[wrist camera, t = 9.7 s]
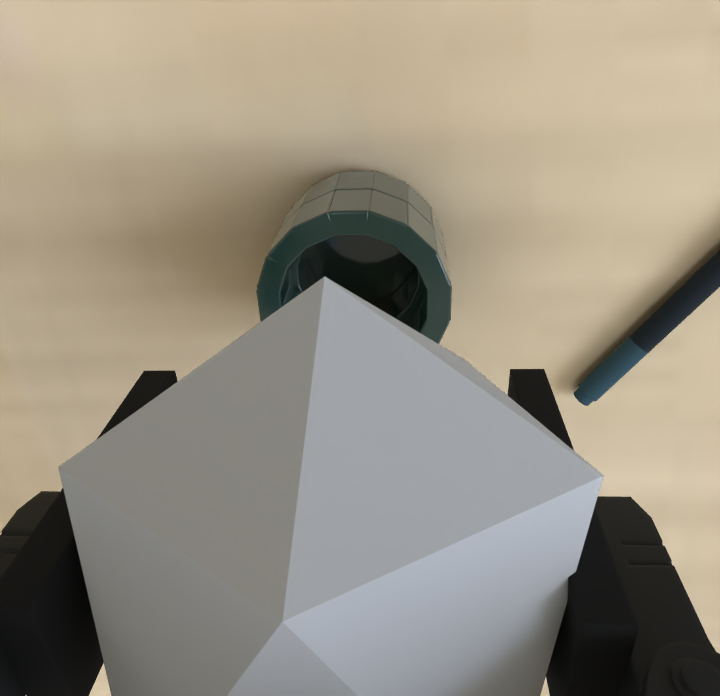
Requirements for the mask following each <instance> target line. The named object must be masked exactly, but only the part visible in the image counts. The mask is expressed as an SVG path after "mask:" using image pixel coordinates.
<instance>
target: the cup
mask: <svg viewBox="0 0 720 696" xmlns="http://www.w3.org/2000/svg"><path fill="white" fill-rule="evenodd" d="M323 277H326V278H328V279H330V280H331V281H333V282H335V283H337V284H338V285H340V286H342V287H343V288H345V289H347V290H348V291H350V292H352V293H353V294H355V295H357V296H358V297H360V298H362V299H363V300H365V301H367V302H369V303H370V304H372V305H374V306H375V307H377V308H379V309H380V310H382V311H384V312H385V313H387V314H389V315H390V316H392V317H394V318H395V319H397V320H399V321H401V322H402V323H404V324H406V325H407V326H409V327H411V328H412V329H414V330H416V331H417V332H419V333H421V334H422V335H424V336H426V337H427V338H429V339H431V340H432V341H434V342H436V343H438V344H439V343H440V341H441V339H442V337H443V335H444V333H445V331H446V329H447V327H448V325H449V321H450V320H451V293H452V286H451V281H450V275H449V269H448V263H447V258H446V252H445V246H444V240H443V235H442V232H441V229H440V227H439V225H438V222H437V220H436V217H435V215H434V212H433V210H432V208H431V206H430V205H429V204H428V203H427V202H426V201H425V200H424V199H423V198H422V197H421V196H420V195H419V194H418V193H417V192H416V191H415V190H414V189H412V188H411V187H410V186H409V185H408V184H406V182H403V181H401V180H398V179H396V178H393V177H390V176H388V175H385V174H382V173H380V172H377V171H351V172H339V173H337V174H335V175H333V176H331V177H328V178H326V179H324V180H322V181H320V182H318V183H316V184H313V185H312V186H311V187H310V188H309V189H308V190H307V191H306V192H305V193H304V194H303V195H302V196H301V198H300V199H299V200H298V201H297V202H296V203H295V204H294V206H293V207H292V208H291V210H290V211H289V213H288V215H287V217H286V219H285V221H284V223H283V225H282V226H281V228H280V230H279V233H278V234H277V236H276V238H275V240H274V242H273V244H272V246H271V248H270V250H269V252H268V254H267V256H266V258H265V261H264V265H263V268H262V271H261V275H260V278H259V281H258V285H257V291H256V292H257V299H258V306H259V313H260V320H261V322H262V321H263V320H265V319H266V318H267V317H269V316H270V315H272V314H273V313H274V312H276V311H277V310H279V309H280V308H281V307H283V306H284V305H286V304H287V303H288V302H290V301H291V300H292V299H294V298H295V297H297V296H298V295H299V294H301V293H302V292H304V291H305V290H306V289H308V288H309V287H311V286H312V285H313V284H315V283H316V282H318V281H319V280H320V279H322V278H323Z"/></svg>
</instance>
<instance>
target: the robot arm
mask: <svg viewBox="0 0 720 696" xmlns="http://www.w3.org/2000/svg"><path fill="white" fill-rule="evenodd" d="M175 383H177V378H176V373H175V371H144V372H143V373H142V375H141V376H140V378H139V379H138V380H137V382H136V383H135V385H134V386H133V388H132V389H131V391H130V392H129V393H128V395H127V396H126V398H125V399H124V401H123V402H122V404H121V405H120V406H119V408H118V409H117V411H116V412H115V414H114V415H113V417H112V418H111V419H110V421H109V422H108V424H107V425H106V427H105V428H104V430H103V431H102V432H101V434H100V435H99V437H98V438H100V437H101V436H103V435H104V434H105V433H107V432H108V431H110V430H111V429H112V428H114V427H115V426H116V425H118V424H119V423H121V422H122V421H123V420H125V419H126V418H128V417H129V416H130V415H132V414H133V413H135V412H136V411H137V410H139V409H140V408H142V407H143V406H144V405H146V404H147V403H149V402H150V401H151V400H153V399H154V398H156V397H157V396H158V395H160V394H161V393H163V392H164V391H165V390H167V389H168V388H170V387H171V386H172V385H174V384H175ZM508 396H509V397H510V398H511V399H512V400H514V401H515V402H516V403H517V404H518V405H520V406H521V407H522V408H523V409H524V410H526V411H527V412H528V413H529V414H530V415H531V416H533V417H534V418H535V419H536V420H537V421H539V422H540V423H541V424H542V425H543V426H545V427H546V428H547V429H548V430H549V431H551V432H552V433H553V434H554V435H555V436H557V437H558V438H559V439H560V440H561V441H563V442H564V443H565V444H566V445H567V446H569V447H570V448H571V449H572V450H573V451H574V449H573V446H572V444H571V441H570V438H569V436H568V433H567V430H566V427H565V425H564V422H563V419H562V417H561V414H560V411H559V409H558V406H557V403H556V400H555V398H554V395H553V392H552V390H551V387H550V384H549V381H548V379H547V376H546V373H545V371H544V369H510V377H509V388H508ZM98 438H97V439H98ZM103 663H104V661H103V657H102V652H101V648H100V644H99V639H98V635H97V631H96V627H95V622H94V618H93V614H92V609H91V605H90V601H89V596H88V592H87V588H86V584H85V579H84V575H83V571H82V566H81V562H80V558H79V554H78V549H77V545H76V541H75V536H74V532H73V528H72V524H71V519H70V515H69V511H68V506H67V502H66V498H65V494H64V489H62V490H61V492H48V491H41V492H40V493H39V494H37V495H36V496H35V497H33V498H32V499H31V500H30V501H28V502H27V503H26V504H24V505H23V506H22V507H21V508H19V509H18V510H17V511H16V513H15V514H14V515H13V517H12V518H11V519H10V521H9V522H8V523H7V525H6V526H5V527H4V529H3V530H2V534H1V535H0V696H25V695H27V696H89V694H90V691H91V689H92V687H93V685H94V682H95V680H96V678H97V676H98V674H99V671H100V669H101V667H102V665H103ZM546 678H547V683H548V688H549V693H550V696H720V654H719V653H717V652H716V651H715V649H714V648H713V646H712V644H711V643H710V641H709V639H708V637H707V635H706V633H705V631H704V629H703V627H702V625H701V622H700V620H699V618H698V616H697V614H696V612H695V610H694V608H693V605H692V603H691V601H690V599H689V597H688V595H687V593H686V590H685V588H684V586H683V584H682V582H681V580H680V578H679V576H678V573H677V571H676V569H675V567H674V566H672V563H671V558H670V556H669V554H668V552H667V550H666V548H665V546H663V545H662V539H661V537H660V535H659V533H658V531H657V529H656V527H655V524H654V522H653V520H652V518H651V517H650V516H649V515H648V514H647V513H646V512H645V511H644V510H643V509H642V508H641V507H640V506H639V505H638V504H637V503H636V502H635V501H634V500H633V499H632V498H631V497H597V500H596V504H595V507H594V511H593V514H592V518H591V521H590V525H589V528H588V532H587V535H586V539H585V542H584V545H583V549H582V552H581V556H580V559H579V563H578V566H577V570H576V572H575V573H573V574H572V575H571V576H569V577H568V601H567V604H566V608H565V611H564V615H563V618H562V622H561V625H560V628H559V632H558V635H557V639H556V642H555V646H554V649H553V653H552V656H551V660H550V663H549V667H548V670H547V673H546Z"/></svg>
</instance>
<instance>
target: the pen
mask: <svg viewBox="0 0 720 696" xmlns="http://www.w3.org/2000/svg"><path fill="white" fill-rule="evenodd" d="M719 287H720V250H719V251H718V252H717V253H716V254H715V255H714V256H713V257H712V258H711V259H710V260H708V261H707V262H706V263H705V264H704V265H703V266H702V267H701V268H700V269H699V270H698V271H697V272H696V273H695V274H694V275H693V276H692V277H691V278H690V279H689V280H688V281H687V282H686V283H684V284H683V285H682V286H681V287H680V288H679V289H678V290H677V291H676V292H675V293H674V294H673V295H672V296H671V297H670V298H669V299H668V300H667V301H666V302H665V303H664V304H663V305H662V306H660V307H659V308H658V309H657V310H656V311H655V312H654V313H653V314H652V315H651V316H650V317H649V318H648V319H647V320H646V321H645V322H644V323H643V324H642V325H641V326H640V327H639V328H638V329H636V330H635V331H634V332H633V333H632V334H631V335H630V336H629V337H628V338H627V339H626V340H625V341H624V342H623V343H622V344H621V345H620V346H619V347H618V348H617V349H616V350H615V351H614V352H612V353H611V354H610V355H609V356H608V357H607V358H606V359H605V360H604V361H603V362H602V363H601V364H600V365H599V366H598V367H597V368H596V369H595V370H594V371H593V372H592V373H591V374H590V375H588V376H587V377H586V378H585V379H584V380H583V381H582V382H581V383H580V384H579V388H578V389H577V390H576V391H575V392H574V396H575V397H576V399H577V400H578V401H579V402H580V403H582V404H583V405H586V406H588V405H589V404H590V403H591V402H592V401H597V400H598V399H599V398H600V397H601V396H602V395H603V394H604V393H605V392H606V391H607V390H609V389H610V388H611V387H612V386H613V385H614V384H615V383H616V382H617V381H618V380H619V379H620V378H622V377H623V376H624V375H625V374H626V373H627V372H628V371H629V370H630V369H631V368H632V367H633V366H635V365H636V364H637V363H638V362H639V361H640V360H641V359H642V358H643V357H644V356H645V355H646V354H647V353H649V352H650V351H651V350H652V349H653V348H654V347H655V346H656V345H657V344H658V343H659V342H660V341H662V340H663V339H664V338H665V337H666V336H667V335H668V334H669V333H670V332H671V331H672V330H673V329H675V328H676V327H677V326H678V325H679V324H680V323H681V322H682V321H683V320H684V319H685V318H686V317H687V316H689V315H690V314H691V313H692V312H693V311H694V310H695V309H696V308H697V307H698V306H699V305H700V304H702V303H703V302H704V301H705V300H706V299H707V298H708V297H709V296H710V295H711V294H712V293H713V292H715V291H716V290H717V289H718V288H719Z"/></svg>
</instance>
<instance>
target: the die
mask: <svg viewBox="0 0 720 696" xmlns="http://www.w3.org/2000/svg"><path fill="white" fill-rule="evenodd" d="M58 468H59V472H60V476H61V481H62V485H63V489H64V494H65V498H66V502H67V506H68V511H69V515H70V519H71V524H72V528H73V532H74V536H75V541H76V545H77V549H78V554H79V558H80V562H81V566H82V571H83V575H84V579H85V584H86V588H87V592H88V596H89V601H90V605H91V609H92V614H93V618H94V622H95V627H96V631H97V635H98V639H99V644H100V648H101V652H102V657H103V661H104V665H105V669H106V674H107V678H108V682H109V687H110V691H111V695H112V696H540V694H541V691H542V687H543V684H544V680H545V677H546V673H547V670H548V667H549V663H550V660H551V656H552V653H553V649H554V646H555V642H556V639H557V635H558V632H559V628H560V625H561V622H562V618H563V615H564V611H565V608H566V604H567V601H568V577H569V576H571V575H572V574H573V573H575V572H576V570H577V566H578V563H579V559H580V556H581V552H582V549H583V545H584V542H585V539H586V535H587V532H588V528H589V525H590V521H591V518H592V514H593V511H594V507H595V504H596V500H597V497H598V494H599V490H600V487H601V483H602V480H603V475H602V474H601V473H600V472H599V471H597V470H596V469H595V468H594V467H593V466H591V465H590V464H589V463H588V462H587V461H585V460H584V459H583V458H582V457H581V456H579V455H578V454H577V453H576V452H575V451H573V450H572V449H571V448H570V447H569V446H567V445H566V444H565V443H564V442H563V441H561V440H560V439H559V438H558V437H557V436H555V435H554V434H553V433H552V432H551V431H549V430H548V429H547V428H546V427H545V426H543V425H542V424H541V423H540V422H539V421H537V420H536V419H535V418H534V417H533V416H531V415H530V414H529V413H528V412H527V411H526V410H524V409H523V408H522V407H521V406H520V405H518V404H517V403H516V402H515V401H514V400H512V399H511V398H510V397H509V396H508V395H506V394H505V393H504V392H503V391H502V390H500V389H499V388H498V387H497V386H496V385H494V384H493V383H492V382H491V381H490V380H488V379H487V378H486V377H485V376H484V375H482V374H481V373H480V372H479V371H478V370H476V369H475V368H474V367H473V366H472V365H470V364H469V363H468V362H467V361H466V360H464V359H463V358H461V357H459V356H458V355H456V354H454V353H453V352H451V351H449V350H448V349H446V348H444V347H443V346H441V345H439V344H438V343H436V342H434V341H432V340H431V339H429V338H427V337H426V336H424V335H422V334H421V333H419V332H417V331H416V330H414V329H412V328H411V327H409V326H407V325H406V324H404V323H402V322H401V321H399V320H397V319H395V318H394V317H392V316H390V315H389V314H387V313H385V312H384V311H382V310H380V309H379V308H377V307H375V306H374V305H372V304H370V303H369V302H367V301H365V300H363V299H362V298H360V297H358V296H357V295H355V294H353V293H352V292H350V291H348V290H347V289H345V288H343V287H342V286H340V285H338V284H337V283H335V282H333V281H331V280H330V279H328V278H326V277H323V278H322V279H320V280H319V281H318V282H316V283H315V284H313V285H312V286H311V287H309V288H308V289H306V290H305V291H304V292H302V293H301V294H299V295H298V296H297V297H295V298H294V299H292V300H291V301H290V302H288V303H287V304H286V305H284V306H283V307H281V308H280V309H279V310H277V311H276V312H274V313H273V314H272V315H270V316H269V317H267V318H266V319H265V320H263V321H262V322H260V323H259V324H258V325H256V326H255V327H253V328H252V329H251V330H249V331H248V332H246V333H245V334H244V335H242V336H241V337H239V338H238V339H237V340H235V341H234V342H232V343H231V344H230V345H228V346H227V347H225V348H224V349H223V350H221V351H220V352H218V353H217V354H216V355H214V356H213V357H211V358H210V359H209V360H207V361H206V362H204V363H203V364H202V365H200V366H199V367H198V368H196V369H195V370H193V371H192V372H191V373H189V374H188V375H186V376H185V377H184V378H182V379H181V380H179V381H178V382H177V383H175V384H174V385H172V386H171V387H170V388H168V389H167V390H165V391H164V392H163V393H161V394H160V395H158V396H157V397H156V398H154V399H153V400H151V401H150V402H149V403H147V404H146V405H144V406H143V407H142V408H140V409H139V410H137V411H136V412H135V413H133V414H132V415H130V416H129V417H128V418H126V419H125V420H123V421H122V422H121V423H119V424H118V425H116V426H115V427H114V428H112V429H111V430H110V431H108V432H107V433H105V434H104V435H103V436H101V437H100V438H98V439H97V440H96V441H94V442H93V443H91V444H90V445H89V446H87V447H86V448H84V449H83V450H82V451H80V452H79V453H77V454H76V455H75V456H73V457H72V458H70V459H69V460H68V461H66V462H65V463H63V464H62V465H61V466H59V467H58Z"/></svg>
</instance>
